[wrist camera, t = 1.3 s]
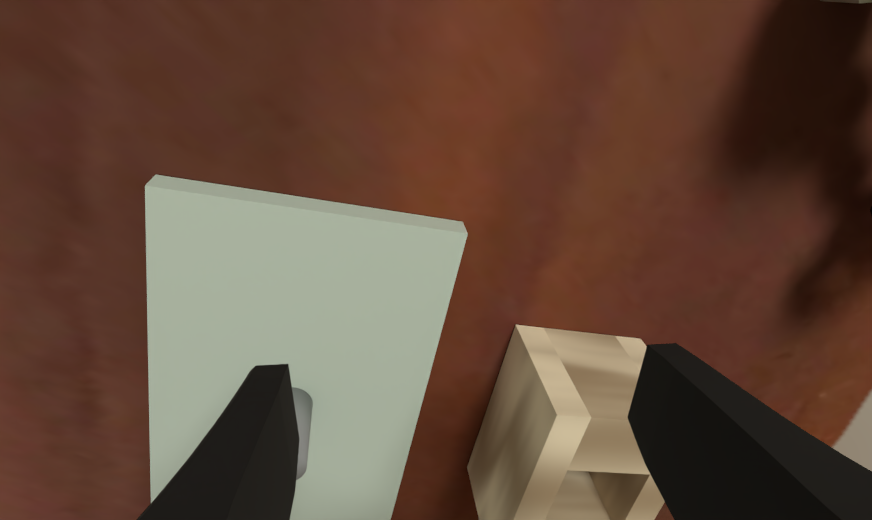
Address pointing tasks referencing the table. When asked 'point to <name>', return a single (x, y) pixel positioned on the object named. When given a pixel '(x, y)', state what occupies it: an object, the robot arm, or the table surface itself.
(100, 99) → the table surface
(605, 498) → the collar block
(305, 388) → the pin base
